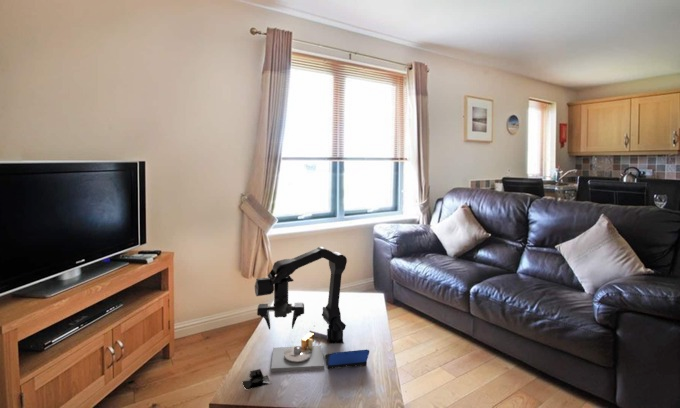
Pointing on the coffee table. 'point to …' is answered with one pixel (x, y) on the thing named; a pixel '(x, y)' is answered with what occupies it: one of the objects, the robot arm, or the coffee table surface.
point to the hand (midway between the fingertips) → (281, 328)
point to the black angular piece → (256, 380)
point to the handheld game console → (347, 359)
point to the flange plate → (297, 357)
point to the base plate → (311, 364)
